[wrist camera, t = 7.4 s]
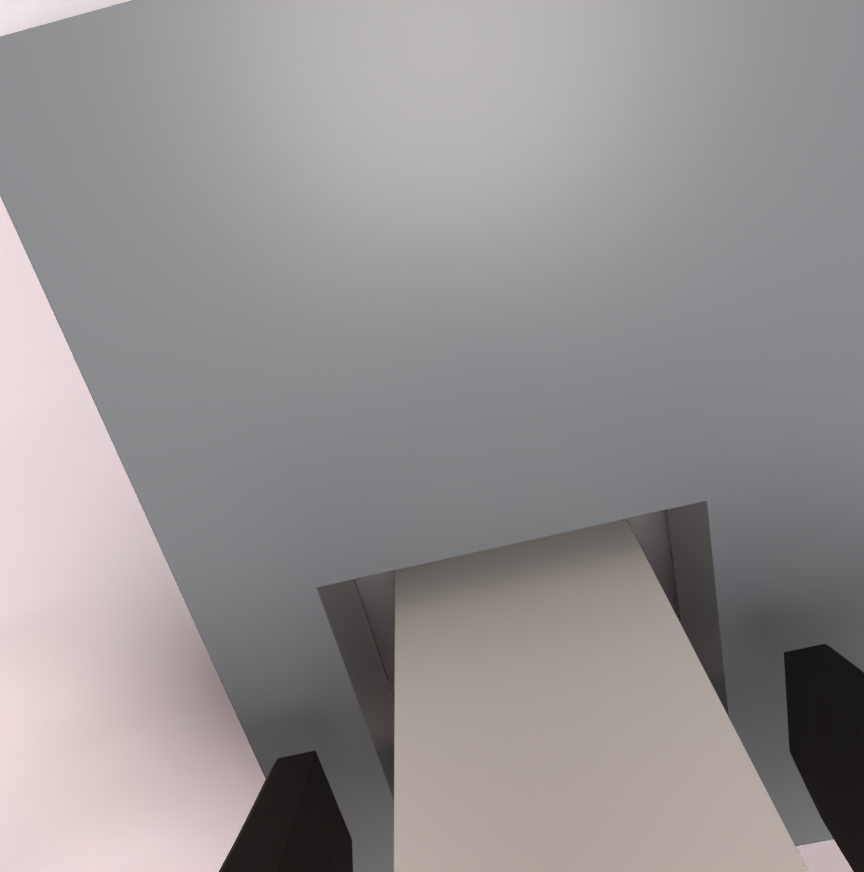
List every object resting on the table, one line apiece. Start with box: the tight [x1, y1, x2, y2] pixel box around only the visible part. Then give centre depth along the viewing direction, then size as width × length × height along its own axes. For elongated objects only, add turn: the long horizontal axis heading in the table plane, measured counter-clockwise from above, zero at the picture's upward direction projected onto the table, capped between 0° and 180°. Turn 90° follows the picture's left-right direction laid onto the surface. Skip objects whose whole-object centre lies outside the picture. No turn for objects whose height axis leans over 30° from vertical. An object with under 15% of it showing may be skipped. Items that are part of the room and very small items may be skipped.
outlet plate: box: [0, 0, 864, 872], centre depth 13 cm, size 16×16×2 cm
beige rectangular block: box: [394, 519, 808, 872], centre depth 12 cm, size 4×4×8 cm
